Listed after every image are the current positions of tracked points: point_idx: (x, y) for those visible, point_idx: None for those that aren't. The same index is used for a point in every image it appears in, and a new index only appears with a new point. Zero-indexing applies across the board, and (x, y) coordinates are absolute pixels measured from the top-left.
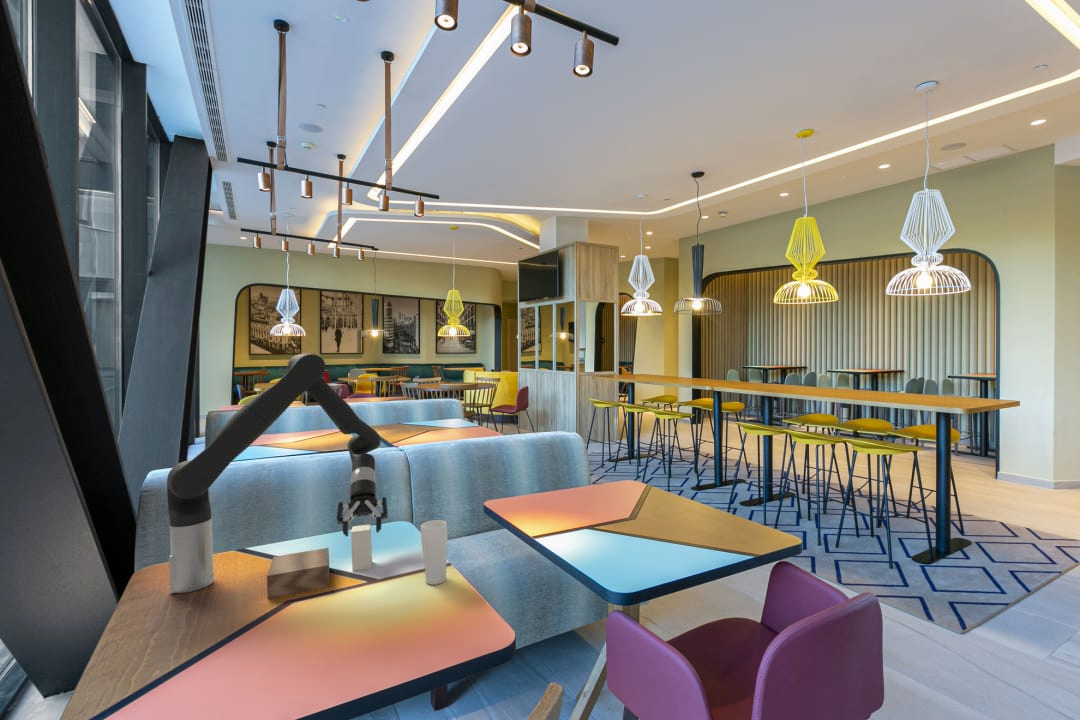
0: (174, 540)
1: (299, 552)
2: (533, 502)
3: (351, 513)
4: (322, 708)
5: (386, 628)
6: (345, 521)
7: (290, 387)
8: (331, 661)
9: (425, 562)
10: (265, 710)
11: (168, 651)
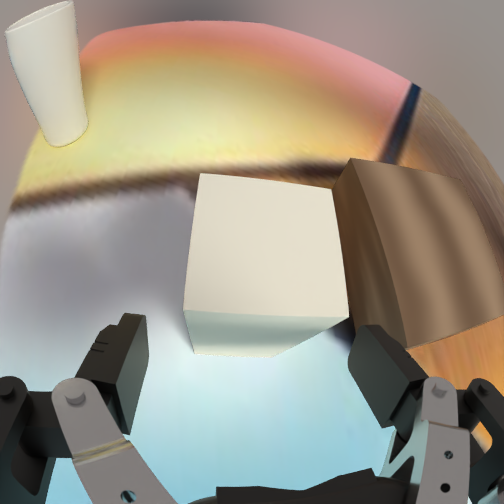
0: None
1: (476, 324)
2: None
3: (431, 424)
4: (259, 23)
5: (198, 54)
6: (427, 381)
7: None
8: (262, 42)
9: (81, 80)
10: (301, 34)
11: (446, 134)
